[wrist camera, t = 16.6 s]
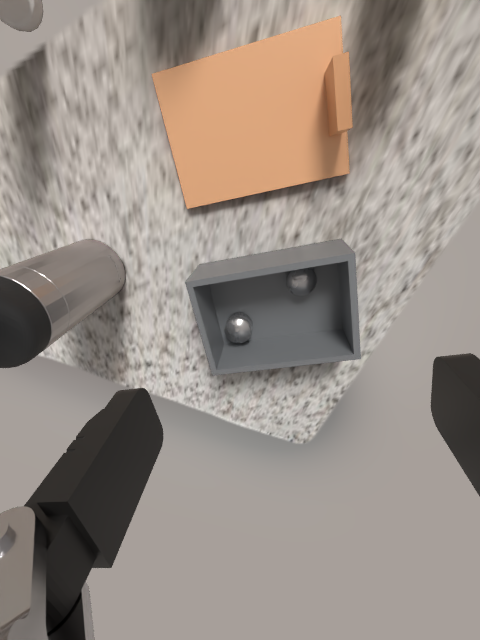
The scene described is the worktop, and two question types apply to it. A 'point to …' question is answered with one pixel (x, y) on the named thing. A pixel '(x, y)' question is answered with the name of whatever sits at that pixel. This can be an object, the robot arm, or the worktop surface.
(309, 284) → the metal part
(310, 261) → the tub
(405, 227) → the worktop surface
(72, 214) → the worktop surface
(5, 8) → the bottle
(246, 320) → the metal part
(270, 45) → the lid
